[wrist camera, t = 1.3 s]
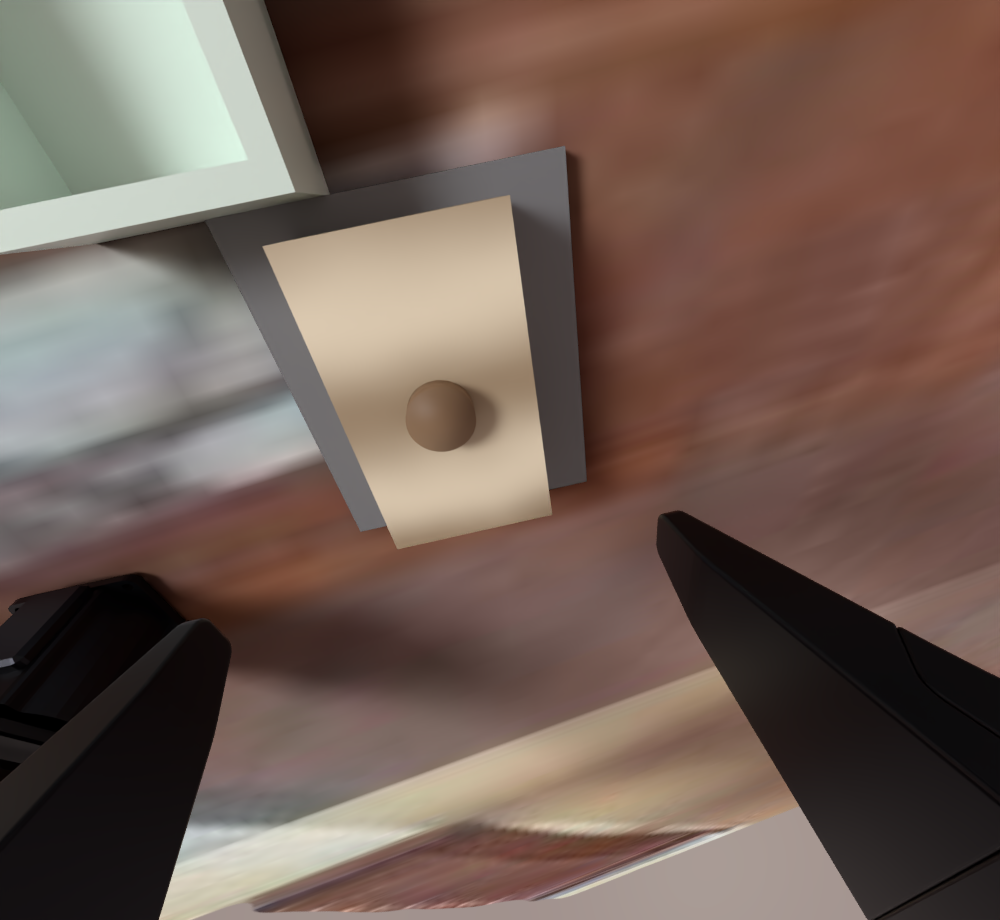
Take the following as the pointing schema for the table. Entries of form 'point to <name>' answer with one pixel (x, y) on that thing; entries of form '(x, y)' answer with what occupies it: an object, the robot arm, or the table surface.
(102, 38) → the dish
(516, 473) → the lid
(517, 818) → the table surface
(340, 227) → the mat
